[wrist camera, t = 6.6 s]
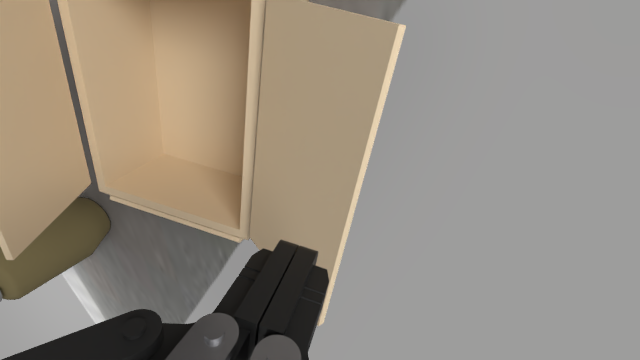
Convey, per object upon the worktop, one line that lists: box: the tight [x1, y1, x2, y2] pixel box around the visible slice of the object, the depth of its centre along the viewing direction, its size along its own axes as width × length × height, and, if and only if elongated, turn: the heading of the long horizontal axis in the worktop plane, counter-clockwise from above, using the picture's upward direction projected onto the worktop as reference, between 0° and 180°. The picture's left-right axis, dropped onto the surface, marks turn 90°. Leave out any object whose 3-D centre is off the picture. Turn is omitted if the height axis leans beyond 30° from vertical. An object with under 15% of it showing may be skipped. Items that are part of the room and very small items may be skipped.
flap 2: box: [249, 0, 406, 326], centre depth 18 cm, size 17×1×9 cm
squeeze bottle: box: [0, 197, 110, 301], centre depth 35 cm, size 8×8×18 cm
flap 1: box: [0, 0, 91, 260], centre depth 19 cm, size 17×1×9 cm, turn 170°
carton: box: [57, 0, 309, 243], centre depth 26 cm, size 23×14×8 cm, turn 170°
